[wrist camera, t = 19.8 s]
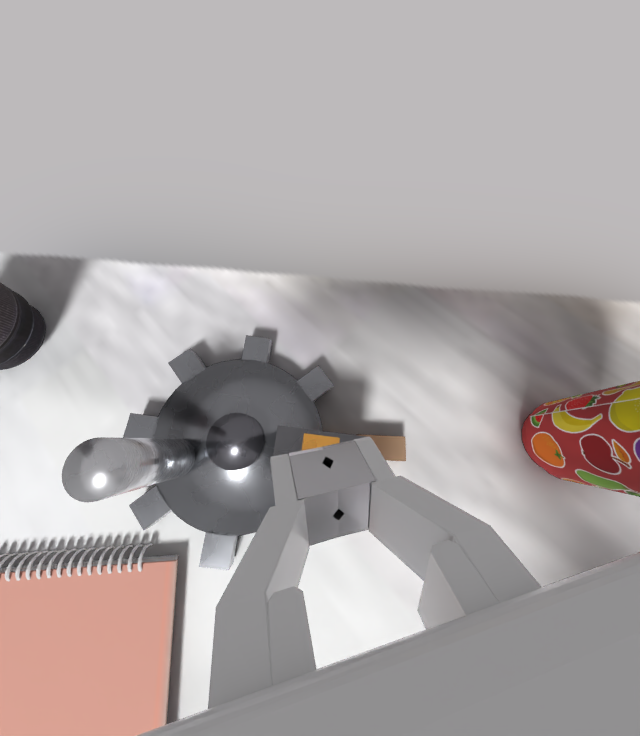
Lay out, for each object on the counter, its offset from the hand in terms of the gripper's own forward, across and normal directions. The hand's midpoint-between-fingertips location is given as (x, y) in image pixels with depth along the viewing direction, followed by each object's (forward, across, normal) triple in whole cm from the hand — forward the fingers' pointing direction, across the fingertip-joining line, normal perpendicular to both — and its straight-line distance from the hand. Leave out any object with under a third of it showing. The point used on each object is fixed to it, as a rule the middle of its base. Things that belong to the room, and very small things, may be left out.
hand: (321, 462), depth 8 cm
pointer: (+12, -8, +12) cm, 18 cm away
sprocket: (+14, +4, +10) cm, 18 cm away
